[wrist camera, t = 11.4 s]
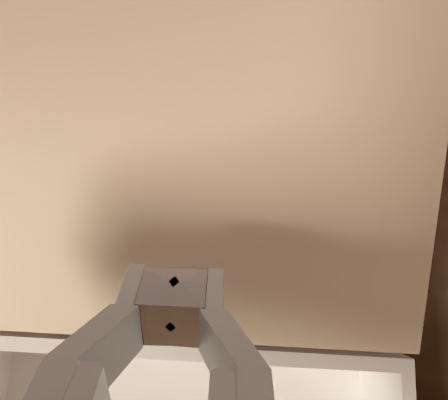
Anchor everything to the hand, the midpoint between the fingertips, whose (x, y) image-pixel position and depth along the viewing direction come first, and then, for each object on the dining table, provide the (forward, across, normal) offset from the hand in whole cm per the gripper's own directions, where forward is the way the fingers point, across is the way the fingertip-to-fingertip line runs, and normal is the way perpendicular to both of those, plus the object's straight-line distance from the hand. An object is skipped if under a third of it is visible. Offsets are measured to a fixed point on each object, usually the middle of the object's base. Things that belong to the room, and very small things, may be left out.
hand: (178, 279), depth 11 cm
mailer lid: (+5, 0, -2) cm, 5 cm away
